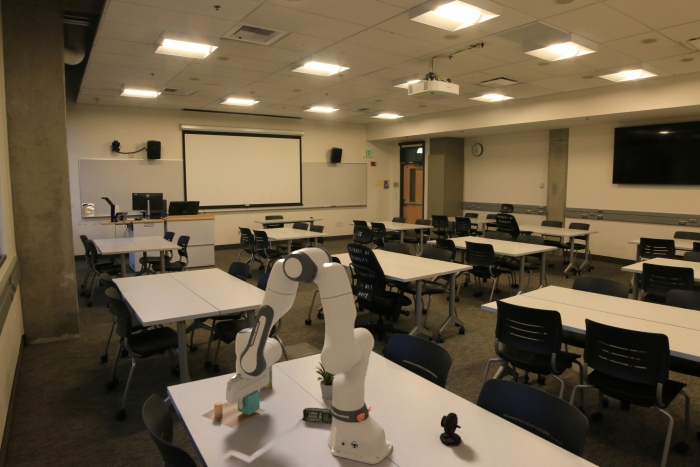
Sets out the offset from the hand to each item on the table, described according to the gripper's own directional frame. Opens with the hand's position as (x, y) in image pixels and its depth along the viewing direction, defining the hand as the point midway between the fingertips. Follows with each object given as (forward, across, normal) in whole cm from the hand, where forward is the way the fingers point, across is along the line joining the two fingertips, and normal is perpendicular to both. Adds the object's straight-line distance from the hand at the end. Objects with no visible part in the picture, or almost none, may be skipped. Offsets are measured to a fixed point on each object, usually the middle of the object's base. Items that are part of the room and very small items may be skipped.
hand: (248, 403), depth 173 cm
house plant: (+5, +29, -17) cm, 34 cm away
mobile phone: (+6, +12, -26) cm, 30 cm away
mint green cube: (+2, 0, 0) cm, 2 cm away
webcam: (+6, +26, -72) cm, 77 cm away
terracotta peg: (+4, -8, +8) cm, 12 cm away
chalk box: (+5, +20, +14) cm, 25 cm away
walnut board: (+5, -3, +5) cm, 8 cm away
